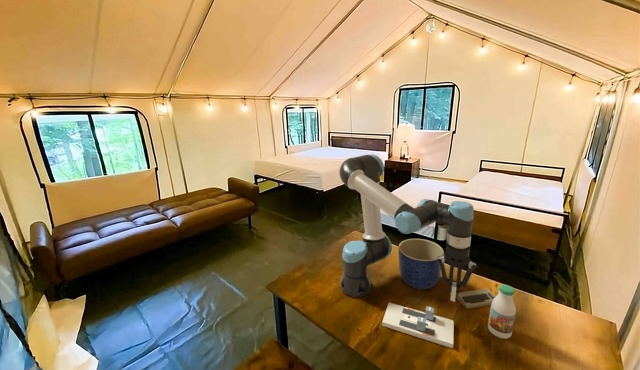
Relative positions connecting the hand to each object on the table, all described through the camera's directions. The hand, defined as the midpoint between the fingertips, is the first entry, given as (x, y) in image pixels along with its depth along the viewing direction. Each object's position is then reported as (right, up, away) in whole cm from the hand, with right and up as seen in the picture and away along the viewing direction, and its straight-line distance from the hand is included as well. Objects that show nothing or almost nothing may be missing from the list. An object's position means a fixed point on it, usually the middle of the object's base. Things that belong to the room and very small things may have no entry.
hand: (452, 298), depth 100 cm
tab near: (-11, -12, +2) cm, 17 cm away
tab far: (-6, -10, +7) cm, 14 cm away
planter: (-1, -6, +32) cm, 32 cm away
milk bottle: (+19, -13, +2) cm, 23 cm away
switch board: (-11, -14, +6) cm, 19 cm away
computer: (+20, -9, +18) cm, 28 cm away
